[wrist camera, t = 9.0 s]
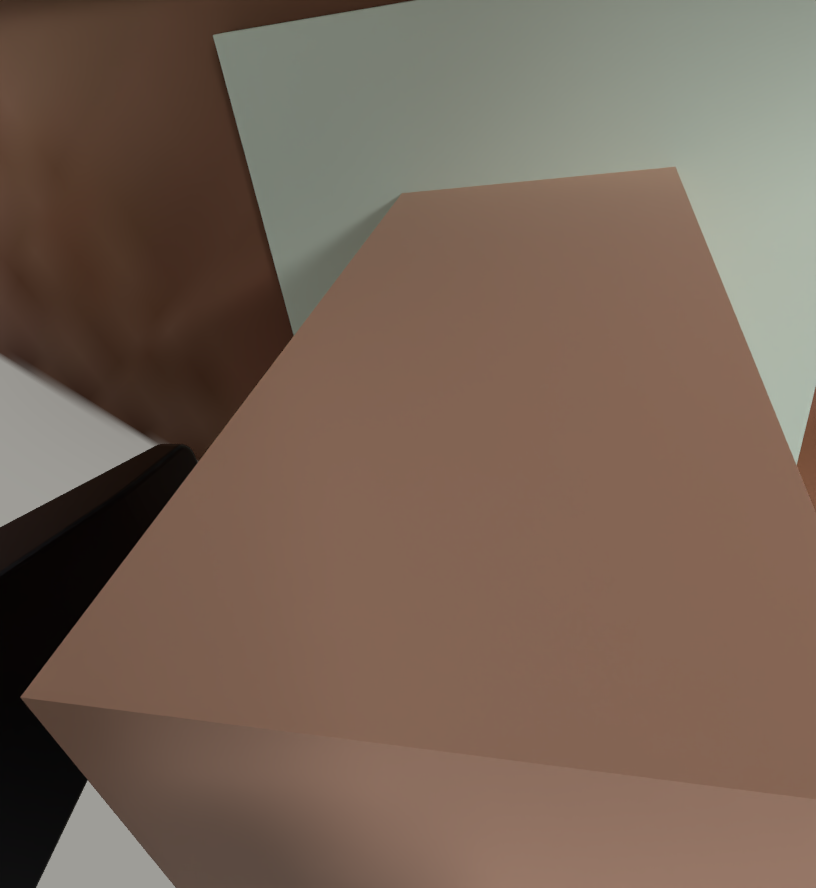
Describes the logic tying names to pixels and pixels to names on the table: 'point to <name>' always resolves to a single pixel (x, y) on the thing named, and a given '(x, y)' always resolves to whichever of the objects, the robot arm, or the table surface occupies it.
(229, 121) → the table surface
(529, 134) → the mat
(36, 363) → the table surface
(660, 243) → the peg
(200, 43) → the table surface
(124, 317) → the table surface
